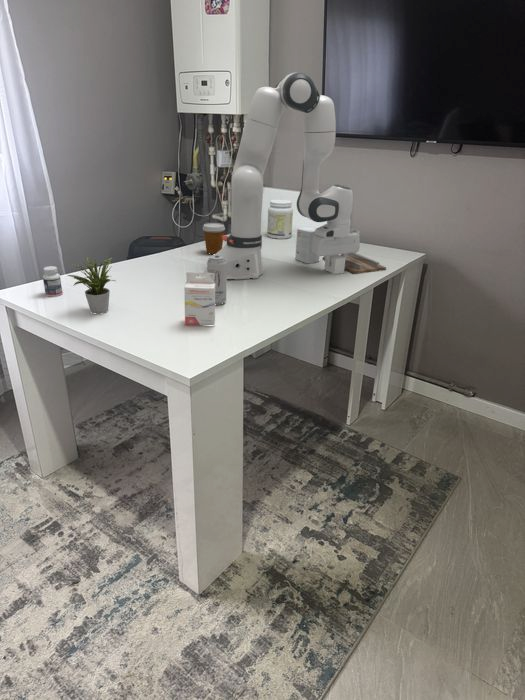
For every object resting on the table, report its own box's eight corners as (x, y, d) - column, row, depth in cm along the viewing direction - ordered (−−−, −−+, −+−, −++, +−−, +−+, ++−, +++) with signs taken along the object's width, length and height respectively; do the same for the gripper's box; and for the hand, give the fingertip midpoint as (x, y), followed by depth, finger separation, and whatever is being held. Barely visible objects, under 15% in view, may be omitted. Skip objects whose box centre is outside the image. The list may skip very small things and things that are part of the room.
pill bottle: (45, 292, 165) (41, 266, 161) (62, 291, 167) (58, 265, 163) (45, 297, 161) (41, 270, 157) (62, 296, 163) (59, 269, 159)
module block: (334, 274, 194) (335, 258, 191) (324, 269, 200) (325, 254, 197) (343, 272, 196) (345, 257, 193) (333, 268, 202) (335, 253, 199)
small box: (319, 261, 210) (321, 230, 204) (308, 264, 206) (310, 232, 200) (305, 257, 215) (307, 226, 209) (294, 259, 211) (296, 228, 206)
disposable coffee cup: (204, 249, 220) (204, 222, 215) (226, 250, 220) (226, 223, 215) (201, 255, 212) (200, 227, 206) (223, 256, 212) (223, 228, 206)
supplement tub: (280, 232, 256) (281, 198, 248) (296, 237, 248) (299, 202, 240) (261, 235, 249) (263, 200, 241) (278, 240, 240) (280, 204, 233)
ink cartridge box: (184, 326, 144) (183, 276, 137) (186, 319, 148) (184, 271, 142) (214, 326, 144) (214, 277, 138) (215, 320, 149) (215, 272, 142)
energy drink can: (205, 305, 160) (204, 258, 153) (209, 298, 165) (209, 253, 159) (224, 306, 159) (224, 260, 153) (228, 300, 164) (228, 255, 158)
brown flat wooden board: (353, 274, 195) (354, 266, 194) (322, 259, 213) (322, 252, 211) (385, 269, 202) (387, 262, 201) (353, 255, 219) (353, 249, 218)
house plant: (96, 298, 162) (91, 248, 155) (133, 305, 157) (129, 254, 150) (66, 313, 150) (58, 259, 143) (104, 321, 145) (98, 266, 138)
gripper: (355, 226, 198) (351, 260, 204) (311, 229, 189) (308, 265, 195) (365, 229, 193) (360, 264, 199) (320, 233, 184) (317, 270, 190)
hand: (334, 265), depth 197 cm, fingers closed on module block, 4 cm apart
